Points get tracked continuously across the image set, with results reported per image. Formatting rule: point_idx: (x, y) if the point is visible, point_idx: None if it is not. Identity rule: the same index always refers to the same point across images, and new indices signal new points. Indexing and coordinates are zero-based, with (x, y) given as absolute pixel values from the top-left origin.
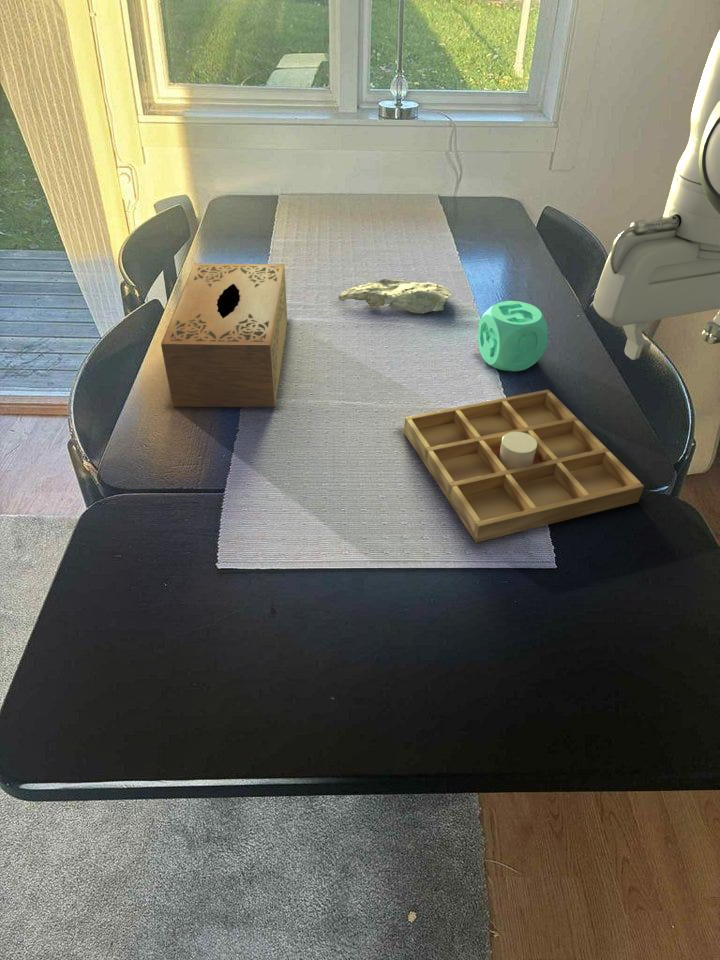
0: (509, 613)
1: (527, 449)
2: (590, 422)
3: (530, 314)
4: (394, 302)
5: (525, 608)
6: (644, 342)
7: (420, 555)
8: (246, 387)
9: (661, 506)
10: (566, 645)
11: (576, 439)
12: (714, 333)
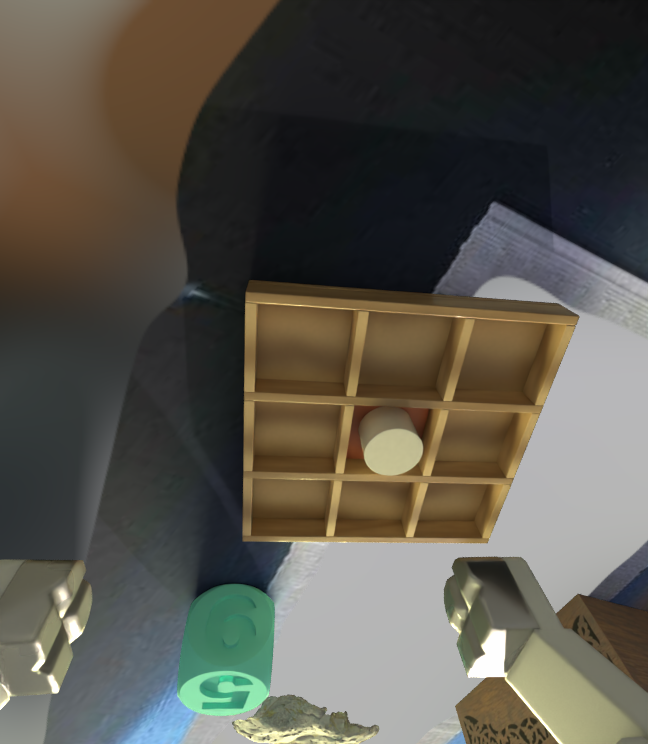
0: (636, 144)
1: (395, 434)
2: (199, 466)
3: (200, 686)
4: (319, 716)
5: (607, 142)
6: (513, 638)
7: (641, 312)
8: (622, 629)
9: (213, 253)
10: (622, 26)
11: (256, 439)
12: (53, 622)
